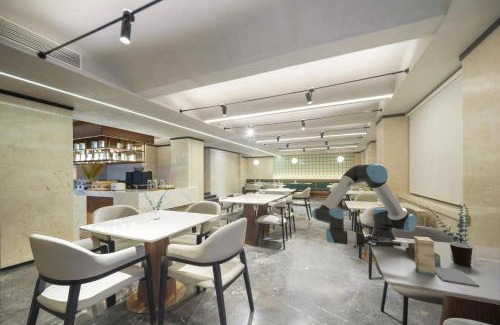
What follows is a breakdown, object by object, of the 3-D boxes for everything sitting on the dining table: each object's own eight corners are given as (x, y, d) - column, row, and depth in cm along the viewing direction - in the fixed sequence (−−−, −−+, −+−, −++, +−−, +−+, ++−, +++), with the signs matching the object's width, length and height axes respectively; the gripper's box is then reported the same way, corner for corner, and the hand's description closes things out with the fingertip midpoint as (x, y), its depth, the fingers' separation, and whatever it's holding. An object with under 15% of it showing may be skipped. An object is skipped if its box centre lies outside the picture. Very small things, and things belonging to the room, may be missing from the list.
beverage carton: (423, 265, 110) (423, 252, 110) (404, 252, 128) (404, 241, 129) (441, 267, 108) (440, 253, 109) (419, 253, 127) (419, 242, 127)
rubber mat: (429, 266, 108) (429, 265, 108) (460, 271, 103) (460, 269, 103) (442, 281, 93) (442, 279, 93) (479, 286, 88) (479, 285, 88)
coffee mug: (469, 269, 105) (467, 248, 106) (447, 262, 113) (446, 243, 113) (480, 265, 110) (478, 245, 110) (458, 259, 117) (457, 241, 118)
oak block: (415, 268, 106) (414, 236, 107) (430, 270, 103) (428, 237, 105) (419, 273, 100) (417, 239, 102) (435, 275, 98) (433, 241, 99)
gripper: (355, 242, 121) (404, 248, 111) (356, 249, 109) (412, 256, 99) (355, 229, 121) (404, 233, 112) (356, 234, 109) (411, 240, 100)
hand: (407, 244), depth 105 cm, fingers closed
